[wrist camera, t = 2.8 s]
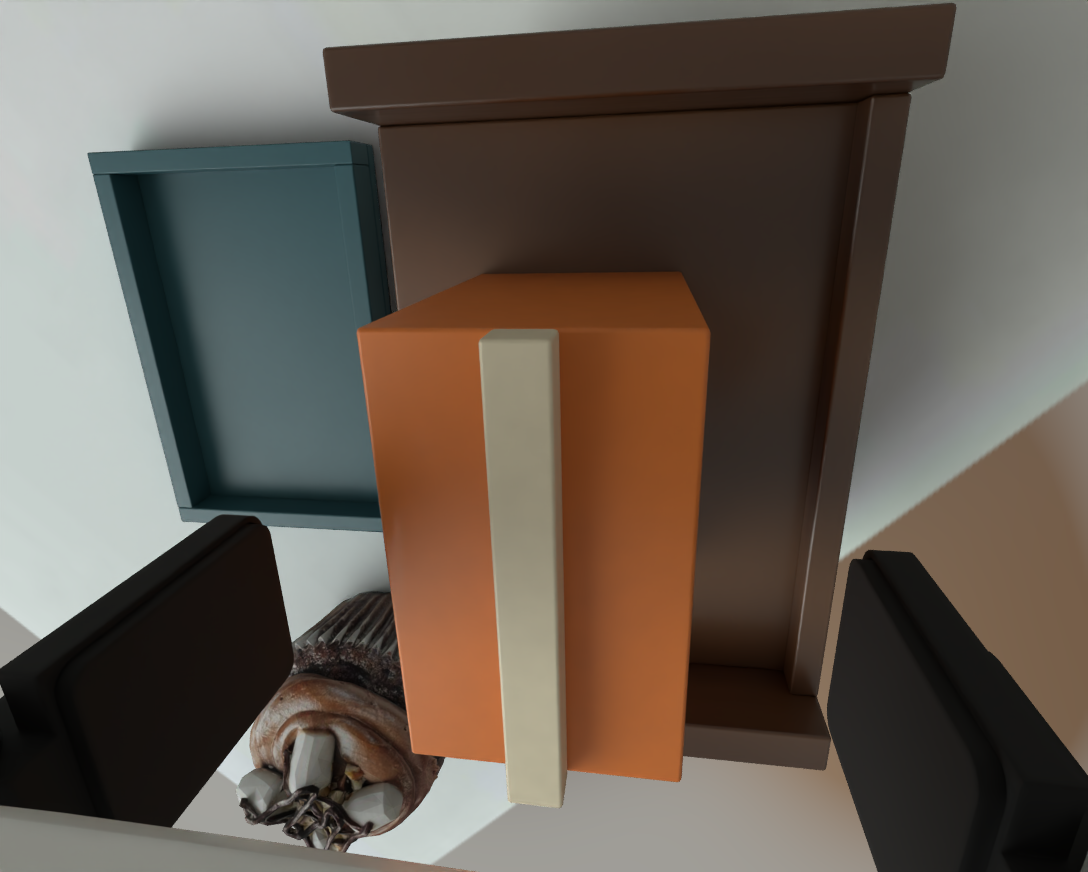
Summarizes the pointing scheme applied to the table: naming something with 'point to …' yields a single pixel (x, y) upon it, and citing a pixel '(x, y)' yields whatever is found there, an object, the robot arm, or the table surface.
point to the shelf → (689, 270)
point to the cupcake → (338, 735)
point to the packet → (543, 518)
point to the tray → (254, 321)
